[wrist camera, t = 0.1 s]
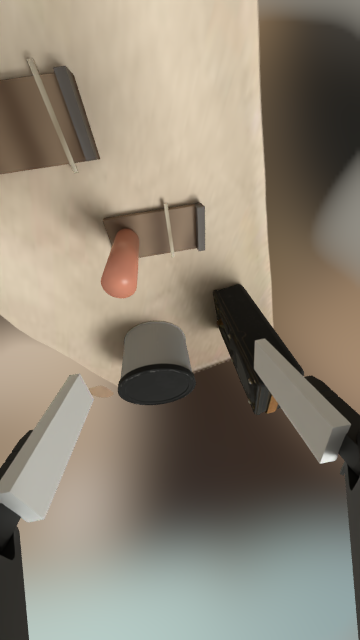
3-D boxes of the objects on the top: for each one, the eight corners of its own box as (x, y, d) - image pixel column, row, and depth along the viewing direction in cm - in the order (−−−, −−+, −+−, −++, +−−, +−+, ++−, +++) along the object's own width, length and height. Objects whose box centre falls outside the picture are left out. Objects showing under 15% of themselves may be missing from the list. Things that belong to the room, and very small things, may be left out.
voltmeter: (208, 289, 43) (253, 388, 25) (243, 279, 42) (314, 373, 24) (216, 330, 54) (251, 418, 36) (243, 322, 53) (293, 408, 35)
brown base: (120, 262, 35) (118, 269, 33) (101, 211, 29) (98, 216, 27) (201, 248, 36) (205, 255, 34) (200, 195, 29) (204, 199, 27)
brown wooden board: (-13, 186, 25) (-28, 189, 23) (-88, 80, 19) (-118, 71, 16) (103, 168, 25) (99, 169, 23) (68, 59, 19) (59, 48, 17)
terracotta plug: (120, 253, 32) (109, 300, 22) (111, 230, 29) (94, 272, 19) (141, 250, 32) (140, 295, 22) (135, 226, 29) (131, 266, 19)
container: (175, 311, 47) (184, 360, 36) (192, 350, 60) (202, 394, 49) (110, 332, 48) (100, 384, 38) (140, 365, 62) (139, 411, 51)
